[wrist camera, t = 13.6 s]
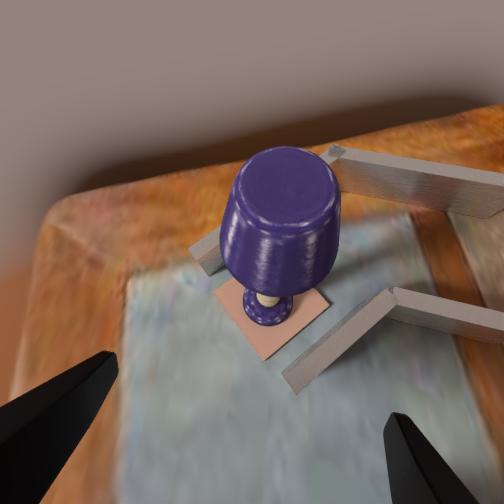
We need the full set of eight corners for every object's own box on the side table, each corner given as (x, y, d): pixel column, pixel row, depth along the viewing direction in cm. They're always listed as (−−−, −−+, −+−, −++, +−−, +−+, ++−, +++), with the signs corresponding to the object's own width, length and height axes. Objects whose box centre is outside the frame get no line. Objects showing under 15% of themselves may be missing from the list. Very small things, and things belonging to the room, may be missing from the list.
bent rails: (557, 328, 21) (628, 322, 17) (220, 401, 21) (207, 413, 17) (452, 150, 28) (484, 113, 23) (192, 202, 27) (178, 174, 23)
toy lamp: (278, 263, 24) (298, 95, 8) (312, 307, 22) (410, 200, 7) (233, 294, 23) (161, 171, 8) (264, 341, 22) (255, 308, 6)
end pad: (263, 361, 22) (263, 361, 21) (213, 292, 24) (212, 292, 23) (328, 305, 23) (329, 305, 22) (275, 246, 25) (275, 244, 25)
